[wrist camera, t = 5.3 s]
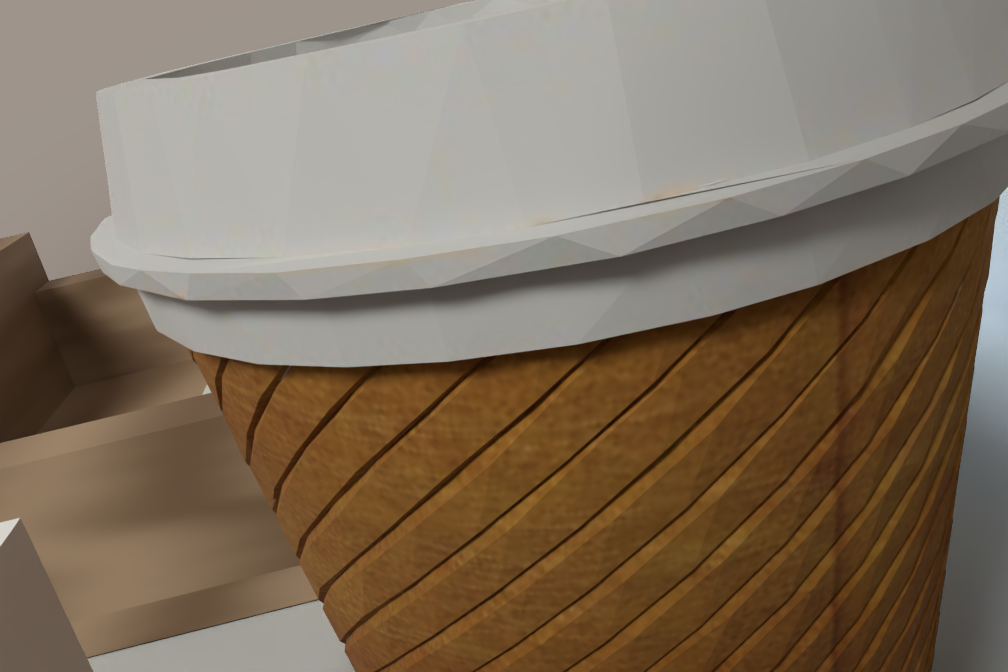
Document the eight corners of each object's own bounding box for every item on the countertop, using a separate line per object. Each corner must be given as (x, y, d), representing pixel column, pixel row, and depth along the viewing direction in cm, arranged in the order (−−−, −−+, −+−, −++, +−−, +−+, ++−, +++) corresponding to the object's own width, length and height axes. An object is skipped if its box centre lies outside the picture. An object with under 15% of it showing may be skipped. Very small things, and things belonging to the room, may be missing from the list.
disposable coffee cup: (411, 649, 18) (232, 52, 14) (885, 582, 17) (848, -82, 13) (297, 1266, 10) (-275, 182, 5) (1241, 1205, 9) (1486, -196, 4)
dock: (530, 291, 38) (497, 126, 35) (652, 514, 21) (605, 231, 19) (59, 402, 37) (-11, 240, 34) (-208, 731, 20) (-381, 463, 18)
